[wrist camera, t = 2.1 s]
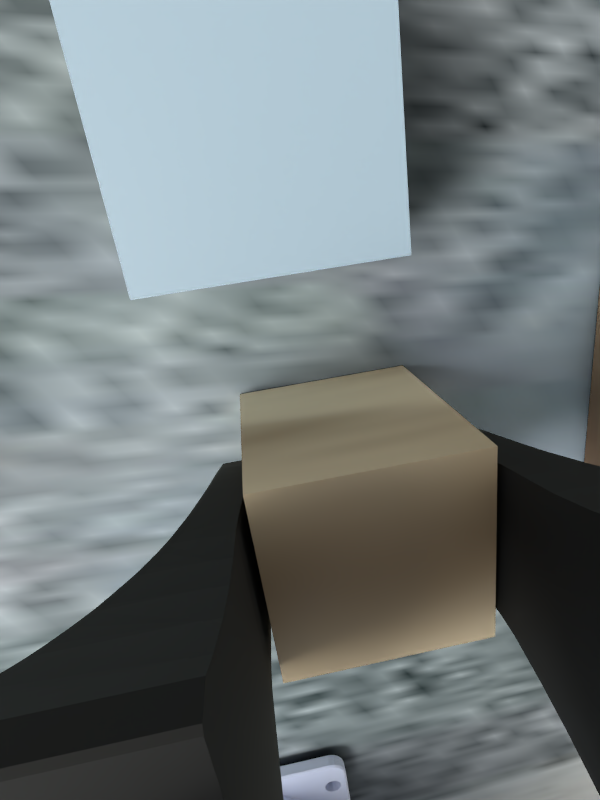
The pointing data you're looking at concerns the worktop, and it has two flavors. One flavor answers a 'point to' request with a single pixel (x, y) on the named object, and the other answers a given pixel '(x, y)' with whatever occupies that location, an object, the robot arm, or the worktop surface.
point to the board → (594, 403)
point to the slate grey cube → (241, 134)
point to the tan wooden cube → (368, 520)
